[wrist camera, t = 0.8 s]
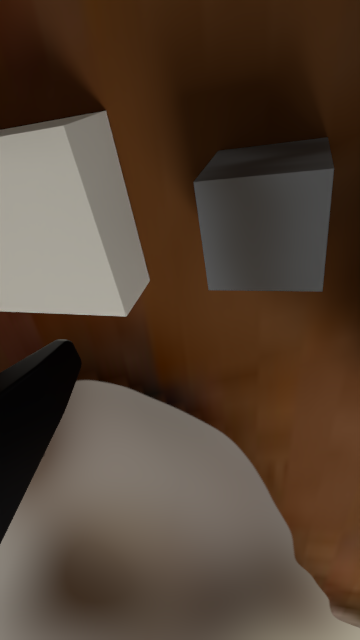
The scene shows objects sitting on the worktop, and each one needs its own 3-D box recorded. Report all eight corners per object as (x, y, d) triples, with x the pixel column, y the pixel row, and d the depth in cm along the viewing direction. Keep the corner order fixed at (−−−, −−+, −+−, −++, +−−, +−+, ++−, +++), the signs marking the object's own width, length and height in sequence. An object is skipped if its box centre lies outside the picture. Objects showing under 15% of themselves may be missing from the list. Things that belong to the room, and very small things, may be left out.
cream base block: (106, 110, 17) (63, 125, 14) (149, 280, 23) (126, 316, 20) (-40, 137, 20) (-99, 154, 17) (31, 280, 26) (-4, 310, 23)
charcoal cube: (327, 137, 15) (333, 168, 12) (319, 240, 18) (322, 291, 15) (218, 150, 17) (193, 181, 13) (227, 243, 20) (208, 290, 16)
